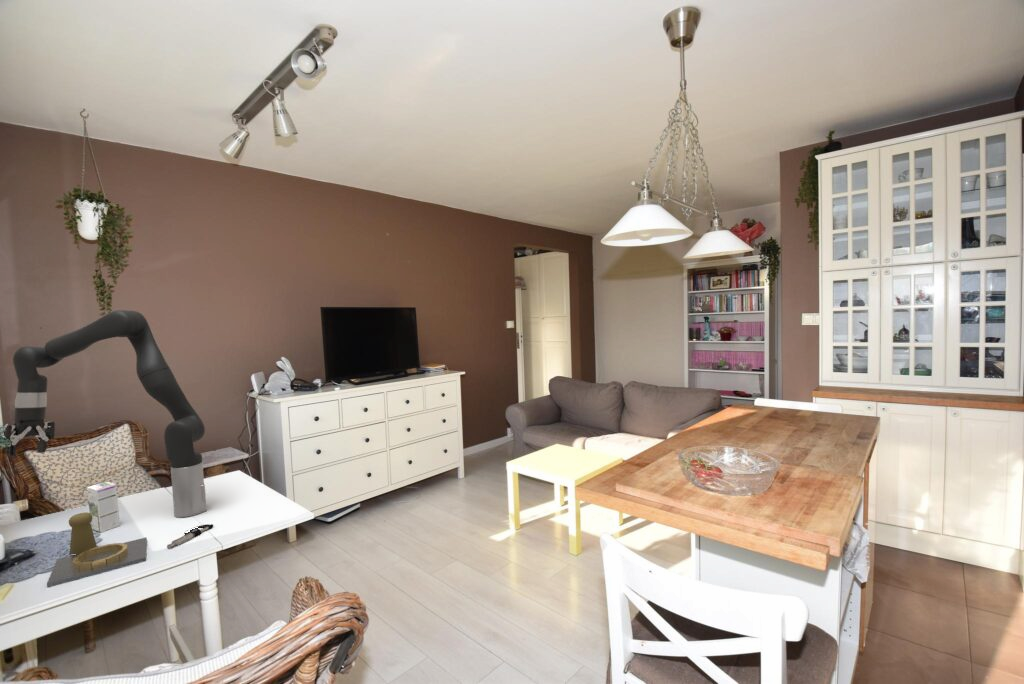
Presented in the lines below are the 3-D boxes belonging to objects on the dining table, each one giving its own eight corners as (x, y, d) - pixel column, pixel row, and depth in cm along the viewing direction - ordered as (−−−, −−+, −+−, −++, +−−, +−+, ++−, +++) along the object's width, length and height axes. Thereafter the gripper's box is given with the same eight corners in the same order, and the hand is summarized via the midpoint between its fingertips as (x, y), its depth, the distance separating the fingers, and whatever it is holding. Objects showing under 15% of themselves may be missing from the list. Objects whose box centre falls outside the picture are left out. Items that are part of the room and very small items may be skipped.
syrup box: (120, 525, 158) (117, 482, 157) (99, 533, 152) (95, 489, 151) (111, 522, 160) (107, 480, 159) (90, 530, 155) (86, 486, 154)
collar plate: (146, 540, 146) (146, 532, 146) (145, 560, 133) (145, 552, 133) (57, 562, 134) (56, 553, 134) (47, 587, 121) (46, 577, 121)
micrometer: (199, 526, 156) (198, 518, 156) (216, 528, 154) (215, 520, 154) (153, 548, 141) (152, 540, 141) (171, 551, 139) (170, 542, 139)
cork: (80, 546, 144) (77, 510, 143) (102, 544, 144) (99, 509, 143) (63, 556, 138) (60, 519, 137) (86, 554, 138) (82, 517, 137)
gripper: (14, 407, 152) (10, 458, 151) (63, 405, 166) (59, 451, 165) (-5, 407, 153) (-9, 457, 152) (45, 404, 167) (41, 451, 166)
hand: (26, 454), depth 159 cm, fingers open, 8 cm apart
